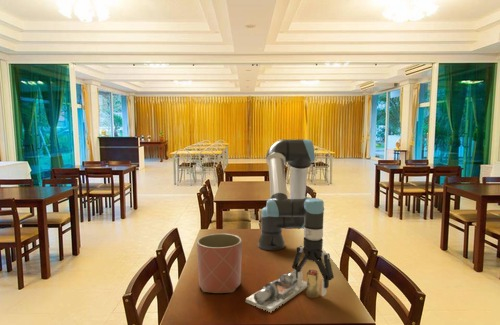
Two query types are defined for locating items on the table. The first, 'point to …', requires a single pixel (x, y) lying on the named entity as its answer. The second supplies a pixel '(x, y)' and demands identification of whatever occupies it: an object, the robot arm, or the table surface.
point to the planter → (219, 262)
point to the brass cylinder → (312, 284)
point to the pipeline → (276, 292)
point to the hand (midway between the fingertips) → (311, 290)
